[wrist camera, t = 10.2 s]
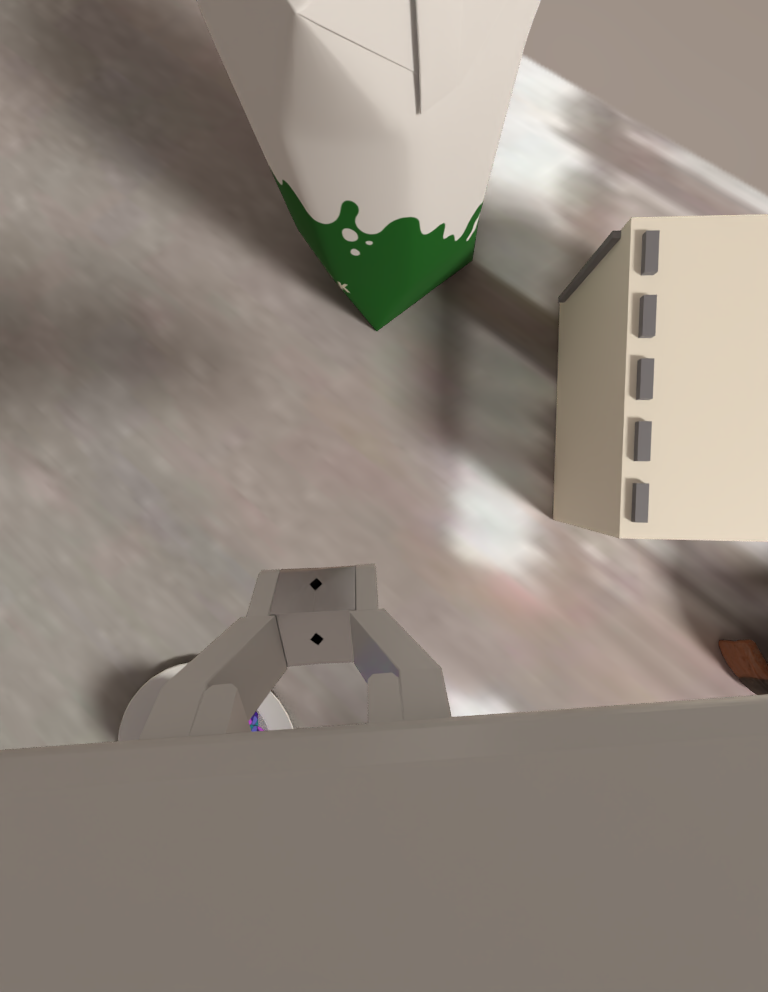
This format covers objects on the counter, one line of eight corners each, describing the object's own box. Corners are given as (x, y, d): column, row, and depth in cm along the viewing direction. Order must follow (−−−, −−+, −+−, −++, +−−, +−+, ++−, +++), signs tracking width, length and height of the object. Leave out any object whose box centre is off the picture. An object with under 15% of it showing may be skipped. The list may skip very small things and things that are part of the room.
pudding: (145, 636, 27) (83, 672, 22) (319, 682, 27) (297, 731, 22) (109, 805, 28) (40, 879, 23) (279, 854, 27) (248, 942, 22)
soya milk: (493, 263, 25) (835, -612, 5) (371, 354, 26) (234, -94, 6) (409, 144, 25) (408, -1205, 5) (289, 238, 26) (-140, -620, 6)
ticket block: (547, 519, 25) (614, 539, 17) (553, 302, 25) (626, 212, 16) (655, 521, 25) (778, 542, 17) (664, 301, 24) (795, 208, 16)
